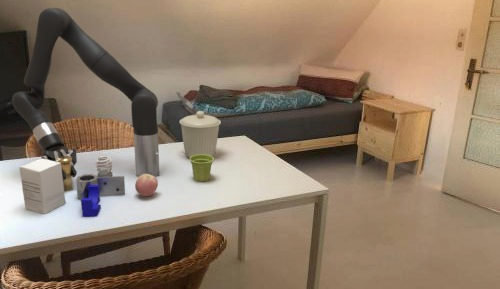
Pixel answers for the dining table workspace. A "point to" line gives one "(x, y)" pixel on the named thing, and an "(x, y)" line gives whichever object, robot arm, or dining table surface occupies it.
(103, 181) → the hinge leaf upper
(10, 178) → the dining table surface
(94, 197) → the cable clip
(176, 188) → the dining table surface
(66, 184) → the hinge pin
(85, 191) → the hinge leaf lower
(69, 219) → the dining table surface
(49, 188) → the supplement box
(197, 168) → the plant pot
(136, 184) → the apple
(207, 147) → the canister
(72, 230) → the dining table surface
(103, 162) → the light bulb
